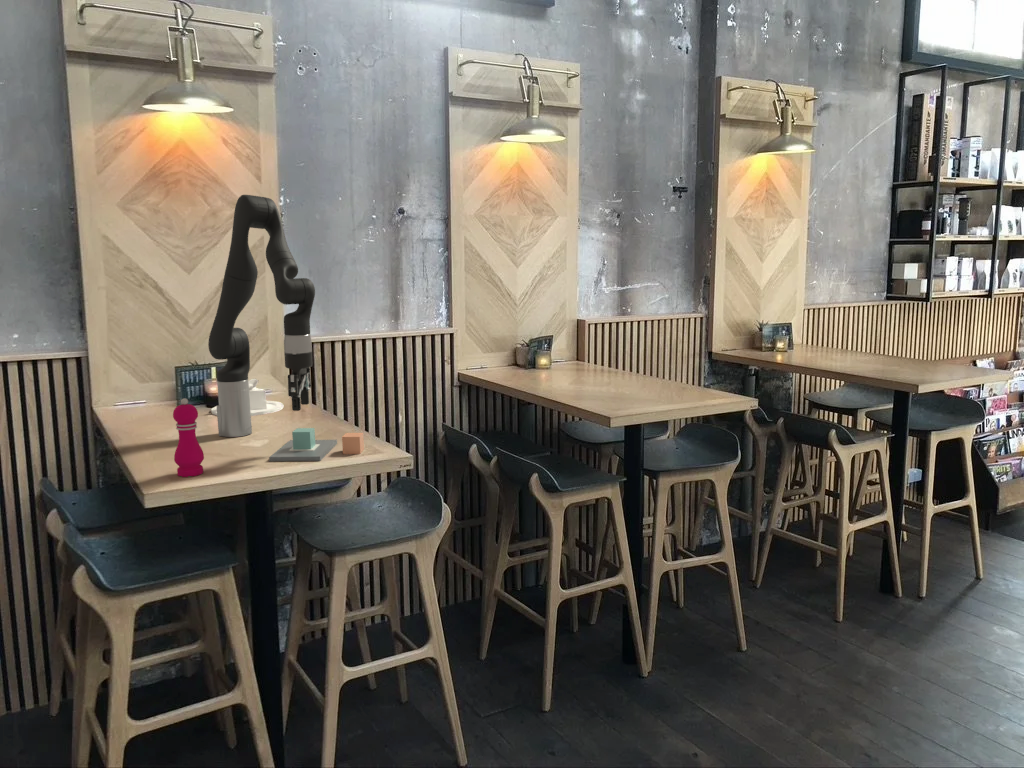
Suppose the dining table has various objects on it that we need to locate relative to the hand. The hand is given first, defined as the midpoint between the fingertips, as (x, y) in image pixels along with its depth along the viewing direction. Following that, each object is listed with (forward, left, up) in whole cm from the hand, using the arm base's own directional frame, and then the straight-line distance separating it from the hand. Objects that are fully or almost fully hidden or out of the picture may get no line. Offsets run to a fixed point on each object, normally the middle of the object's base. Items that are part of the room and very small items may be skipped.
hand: (300, 407), depth 239 cm
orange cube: (+14, 0, -13) cm, 19 cm away
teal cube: (0, 0, -12) cm, 12 cm away
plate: (0, 0, -13) cm, 13 cm away
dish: (-38, +64, -14) cm, 76 cm away
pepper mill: (-24, -22, -13) cm, 35 cm away
